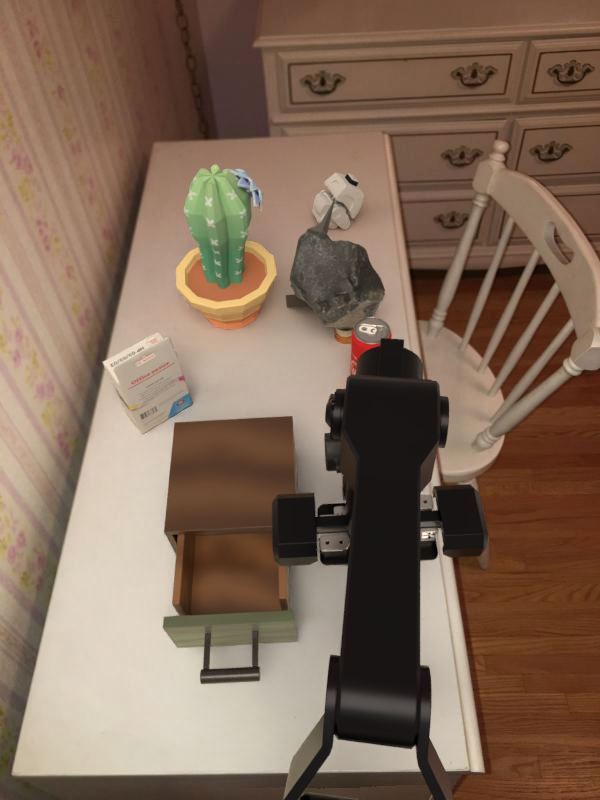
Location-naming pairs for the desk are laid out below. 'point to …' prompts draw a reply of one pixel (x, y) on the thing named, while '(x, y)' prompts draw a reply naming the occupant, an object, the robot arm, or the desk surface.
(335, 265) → the narwhal figurine
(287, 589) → the drawer
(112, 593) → the desk surface
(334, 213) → the white faceted figurine
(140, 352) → the ink box
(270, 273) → the potted cactus
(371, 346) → the beverage can
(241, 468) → the cabinet
